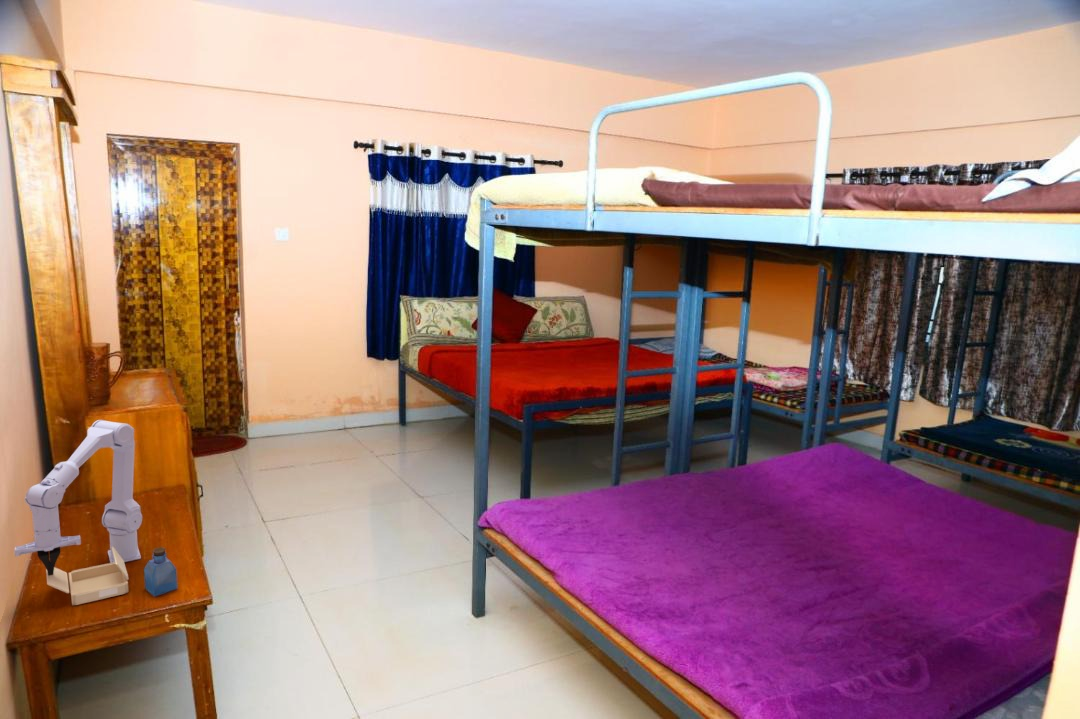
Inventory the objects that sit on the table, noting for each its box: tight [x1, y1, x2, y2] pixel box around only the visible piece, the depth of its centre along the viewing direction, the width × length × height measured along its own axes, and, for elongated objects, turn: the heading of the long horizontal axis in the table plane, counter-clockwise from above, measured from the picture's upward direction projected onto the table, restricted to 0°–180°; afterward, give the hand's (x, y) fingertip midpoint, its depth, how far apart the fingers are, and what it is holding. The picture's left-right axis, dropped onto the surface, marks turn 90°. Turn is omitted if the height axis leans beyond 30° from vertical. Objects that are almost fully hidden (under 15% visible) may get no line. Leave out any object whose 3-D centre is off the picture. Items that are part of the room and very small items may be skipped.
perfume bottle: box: [143, 546, 178, 598], centre depth 197 cm, size 6×6×12 cm
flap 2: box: [112, 546, 130, 581], centre depth 198 cm, size 12×1×6 cm, turn 36°
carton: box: [68, 562, 129, 606], centre depth 196 cm, size 15×13×3 cm
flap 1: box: [45, 566, 70, 594], centre depth 190 cm, size 12×1×6 cm
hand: (50, 573), depth 189 cm, fingers closed
